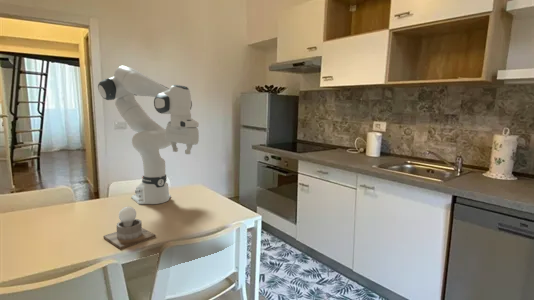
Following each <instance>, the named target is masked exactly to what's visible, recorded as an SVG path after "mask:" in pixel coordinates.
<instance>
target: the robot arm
mask: <svg viewBox="0 0 534 300" xmlns="http://www.w3.org/2000/svg"><path fill="white" fill-rule="evenodd" d="M97 88H98V93H99V94H100V96H101V97H102V98H103V99H104V100H105V101H113V100H115V102H114V103H115V106H116V109H117V111H118V112H119V114H120V116H121V118H123V120H124V121H125V122H126V124H127V125H128V126H129V128H130V129H132V131H135V132H136V133H135V134H134V135H133V136H132V138H131V143H132V144H131V145H132V147H133V148H134V149H135V150H136V151H137V152H138V153H139V155H140V156H141V159H142V166H143V175H142V176H141V179H142V180H141V183H140V184H139V185H138V186H136V188H135V190H134V191H135V192H134V193H135V194H132V195H131V199H132V200H133V201H135V202H136V203H137V204H138V205H159V204H164V203H166V202H168V201H170V198H171V194H170V189H169V188H170V187H169V183H168V182H167V180H168V179H167V174H166V160H165V159H164V157H162V156H161V155H160V150H163V149H166V148H167V147H169V146H171V149H172V152H174V153H177V152H178V151H179V148H178V146H177V144H178V143H179V144H182V145H184V144H185V145H186V149H185V151H184V154H185V155H191V150H192V148H193V145H198V144H199V142H200V140H199V139H200V138H199V137H200V136H199V129H198V128H199V127H200V126H199V122H198V121H196V120H195V119H193V118H192V113H191V110H192V108H193V102H192V95H191V91H190V89H189V87H188V86H184V85H180V84H172V85H171V86H170V88H169V87H167V86H165V85H163V84H161V83H159V82H158V81H155V80H154V79H152V78H150V77H148V76H147V75H145V74H144V73H142V72H141V71H139V70H137V69H136V68H133V67H130V66H127V65H120V66H119V67H117V68H116V69H115V71H114V76H111V77H108V78H105V79H103V80H101V81H99V82H98V85H97ZM135 96H140V97H150V98H151V97H152V98H154V100H153V106H154V109H155V111H156V112H157V113H159V114H161V115H162V114H163V115H170V120H169V121H168V122H167V124H166V127H165V128H164V127H162V126H161V125H160V124H158V123H157V122H156V121H154V120H153V119H152V118H151V117H150V115H148V113H147V112H146V111H145V110H144V109H143V108H142V106H141V105H140V104H139V103H138V101H137V100H136V98H135Z"/></svg>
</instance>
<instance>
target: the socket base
mask: <svg viewBox="0 0 534 300" xmlns="http://www.w3.org/2000/svg"><path fill="white" fill-rule="evenodd" d="M142 223H143V222H142V220H140V219H137V218H135V219H134V221H133V224H132V226H131V227H124V225H123V223H122V222H121V220H119V222H118V223H116V231H114V232H111V233H107V234H104V235H103V239H104V240H106V241H107V242H109V243H110V244H112V245H113V246H115V247H116V248H117V249H119V250H123V249H126V248H128V247H131V246H134V245H137V244H141V243H143V242H145V241H149V240H152V239H154V238H156V236H157V235H156V234H155V233H153V232H151V231H150V230H147V229H145V228H143V227H142V226H143V224H142Z"/></svg>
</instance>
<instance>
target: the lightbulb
mask: <svg viewBox="0 0 534 300" xmlns="http://www.w3.org/2000/svg"><path fill="white" fill-rule="evenodd" d="M134 219H137V211H136V209H135V208H134V207H132V206H125V207H122V209H120V210H119V211H118V220H119V221H121V222H122V223H123V225H124V227H131V226H132V224H133V221H134Z"/></svg>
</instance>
